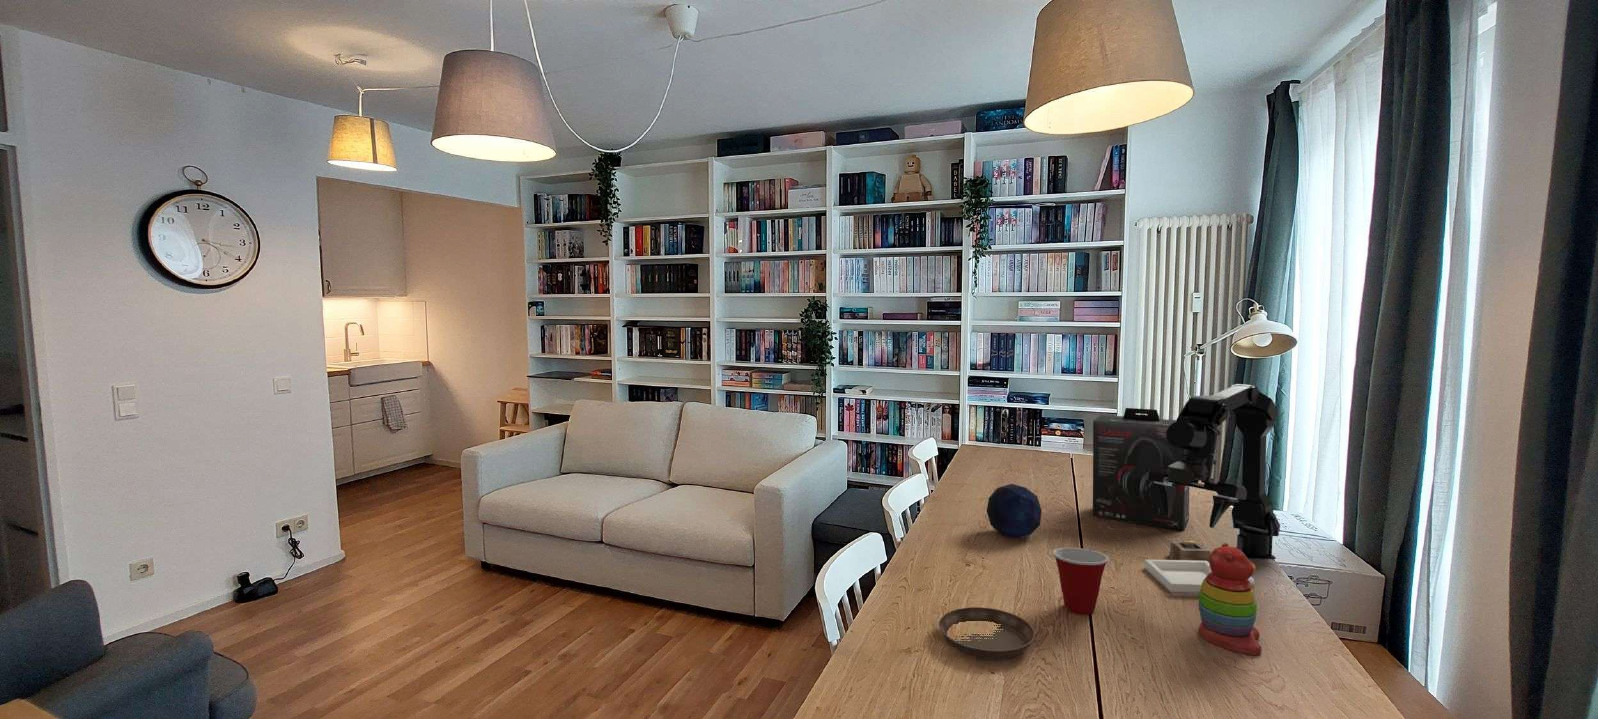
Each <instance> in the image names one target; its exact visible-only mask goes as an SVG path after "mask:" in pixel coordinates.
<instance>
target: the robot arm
mask: <svg viewBox="0 0 1598 719" xmlns="http://www.w3.org/2000/svg"><path fill="white" fill-rule="evenodd" d="M1230 412H1231V413H1232V414H1233V415H1234V424H1235V426H1236V427H1237V429H1238V430H1239V431H1240V433H1241V434H1242V465H1241V466H1242V469H1241V471H1242V472H1241V473H1242V475H1241V477H1242V478H1241V480H1242V481H1241V482H1242V484H1241V485H1238V484H1233V483H1229V482H1224V481H1217V482H1215V483H1214V478H1213V477H1212V476H1213V469H1214V465H1217V460H1216V459H1215V454H1216V449H1217V442H1218V437H1220V436H1221V434H1222V433H1221V431H1220V430H1219V429H1218V427H1219V426H1221V425H1222V424H1223V423H1224V422H1225V421H1226V420H1227V419H1228V418H1229V413H1230ZM1278 412H1279V411H1278V408H1277V405H1276V404H1275V402H1274V401H1273V399H1272V398H1271V397H1269V396H1267V395H1266V394H1264V393H1263V392H1261V391H1260V389H1259V388H1258V387H1257V386H1255V385H1253V384H1252V385H1251V384H1242V383H1235V384H1231V385H1230V387H1227V388H1226V389H1223V390H1221V391H1219V392H1217V393H1214V394H1213V395H1192V396H1191V397H1189V399H1188V400H1187V401H1186V403H1185V404H1184V406H1183V407H1182V409H1181V411H1180V413H1179V414H1178V416H1177V418H1176V419H1175V420H1176V421H1177V422H1174V423H1173V424H1171V425H1170V426H1169V428H1168V429H1167V431H1166V437H1167V440H1168V442H1169V443H1170V444H1171V445H1173V446H1175V447H1178V448H1183V449H1185V454H1182V455H1181V458H1180V461H1179V462H1175V463H1173V464H1171V465H1169V472H1167V471H1162V470H1157V469H1151V470H1149V472H1148V474H1147V480H1151V481H1154V483H1152V485H1155V486H1156V487H1157V488H1158V490H1159V491H1160V494H1161V497H1162V501H1163V505H1164V509H1165V514H1166V517H1170V515H1171V512H1172V508H1173V503H1174V498H1175V492H1176V487H1174V486H1172V484H1174V483H1176V484H1181V485H1186V486H1189V488H1190V487H1191V488H1196V489H1200V490H1206V491H1211V492H1215V493H1216V494H1217V495H1212V502H1213V504H1212V510H1211V514H1210V519H1209V528H1210V529H1214V528H1215V526H1216V525H1217V523H1218V522H1219V520H1220V519H1221V518H1222V516H1223V515H1224V514H1225V512H1226V511H1227V510H1228V509H1229V508H1230V507H1231V506H1232V508H1231V520H1232V526H1233V528H1234V529H1237V530H1239V534H1237V536H1236V538H1237V539H1236V548H1237V549H1239V550H1241V551H1242V552H1243V553H1244V554H1245V556H1246V557H1247V558H1248V559H1253V560H1255V559H1257V560H1258V559H1259V560H1260V559H1261V560H1262V559H1263V560H1264V559H1265V560H1276V559H1277V558H1276V556H1275V555H1273V539H1274V538H1273V537H1279V536H1280V535H1279V534H1280V531H1281V529H1280V528H1281V524H1280V522H1279V520H1278V518H1277V516H1276V513H1275V512H1274V503H1273V502H1272V500H1271V499H1270V498H1269V496H1268V495H1267V492H1266V468H1267V435H1268V434H1269V433H1270V432H1271V430H1272V429H1274V427H1275V426H1276V420H1277V419H1278ZM1199 482H1201V483H1199Z"/></svg>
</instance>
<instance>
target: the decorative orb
mask: <svg viewBox="0 0 1598 719" xmlns="http://www.w3.org/2000/svg"><path fill="white" fill-rule="evenodd" d="M986 507H987V508H986V513H987V516H988V520H989V524H990V526H991V527H992V528H993V529H994V530H996V531H997V532H998V533H999V534H1000V535H1001V536H1005V537H1009V538H1011V537H1012V539H1014V538H1018V539H1020V538H1021V537H1022V538H1025V537H1027V536H1031V535H1032V534H1033V533H1034V532H1035V531H1036V530H1037V529H1038V528H1039V527H1040V525H1041V520H1042V519H1041V518H1042V510H1043V509H1042V507H1041V504H1040V500H1039V498H1038V496H1037V495H1036V494H1034V492H1032V491H1031V490H1030V489H1029V488H1028V487H1025V486H1023V485H1022V486H1021V485H1017V484H1014V483H1010V484H1006V485H1003V486H1000V487H997V488H996V489H995V490H994V491H993V492H992V493H991V495H990V496H989V497H988V501H987V506H986ZM1022 538H1021V539H1022Z"/></svg>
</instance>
